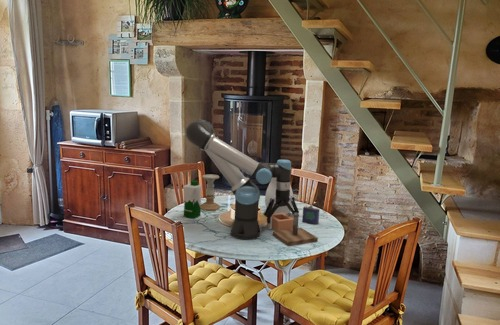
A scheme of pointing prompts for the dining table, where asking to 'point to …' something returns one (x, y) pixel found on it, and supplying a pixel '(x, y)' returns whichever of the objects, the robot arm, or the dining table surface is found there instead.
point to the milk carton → (192, 200)
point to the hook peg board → (293, 238)
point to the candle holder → (210, 193)
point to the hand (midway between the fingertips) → (280, 227)
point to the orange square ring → (281, 222)
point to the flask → (310, 215)
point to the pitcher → (272, 194)
